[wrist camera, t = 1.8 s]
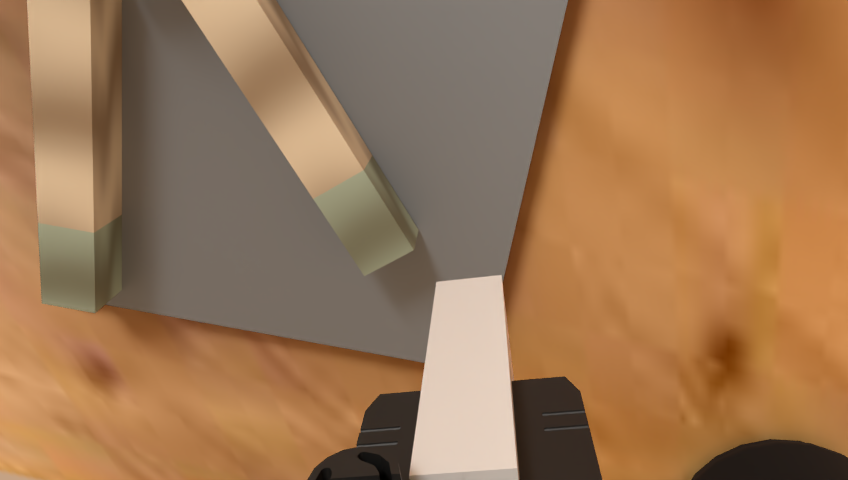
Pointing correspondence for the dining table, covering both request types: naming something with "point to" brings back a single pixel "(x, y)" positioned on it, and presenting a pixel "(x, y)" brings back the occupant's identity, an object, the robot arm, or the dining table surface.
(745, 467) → the coffee jar
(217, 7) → the bar
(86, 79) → the tongs base
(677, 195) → the dining table surface
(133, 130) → the board
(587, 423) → the robot arm
